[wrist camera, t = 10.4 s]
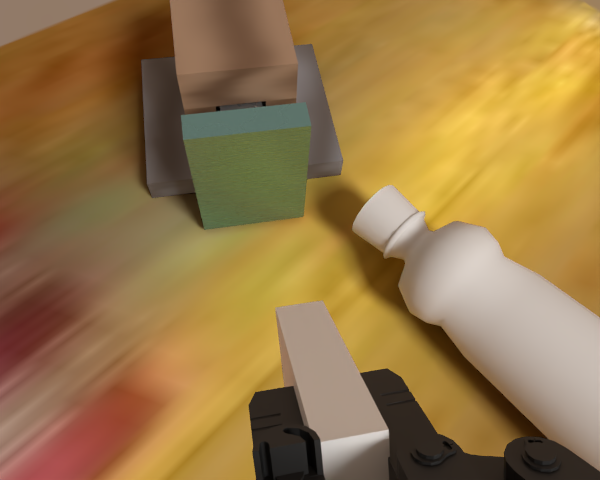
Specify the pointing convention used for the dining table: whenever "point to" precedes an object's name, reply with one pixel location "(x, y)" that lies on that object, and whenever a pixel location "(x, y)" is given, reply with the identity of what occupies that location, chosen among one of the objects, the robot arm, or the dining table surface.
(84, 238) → the dining table surface
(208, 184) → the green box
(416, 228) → the bottle
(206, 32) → the bearing block
